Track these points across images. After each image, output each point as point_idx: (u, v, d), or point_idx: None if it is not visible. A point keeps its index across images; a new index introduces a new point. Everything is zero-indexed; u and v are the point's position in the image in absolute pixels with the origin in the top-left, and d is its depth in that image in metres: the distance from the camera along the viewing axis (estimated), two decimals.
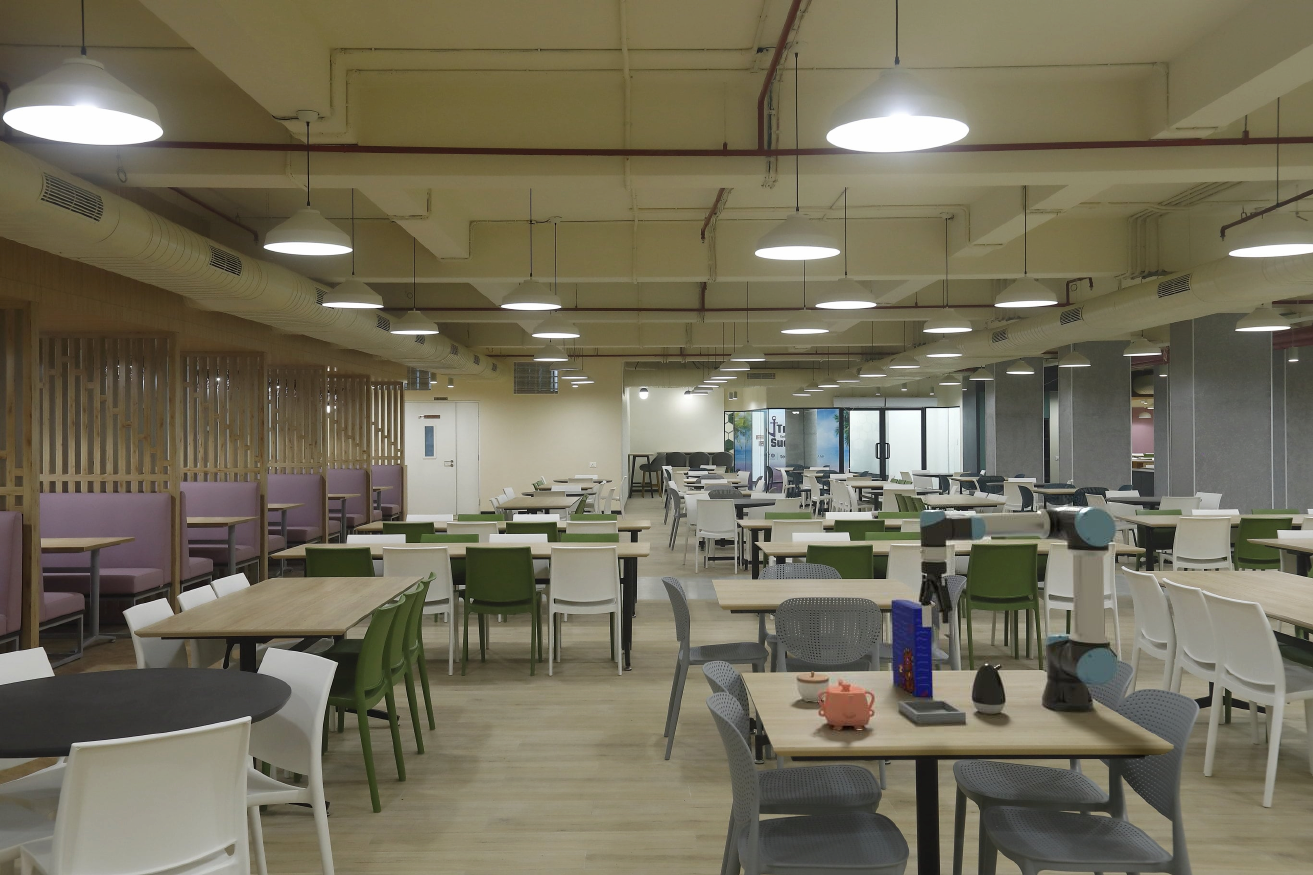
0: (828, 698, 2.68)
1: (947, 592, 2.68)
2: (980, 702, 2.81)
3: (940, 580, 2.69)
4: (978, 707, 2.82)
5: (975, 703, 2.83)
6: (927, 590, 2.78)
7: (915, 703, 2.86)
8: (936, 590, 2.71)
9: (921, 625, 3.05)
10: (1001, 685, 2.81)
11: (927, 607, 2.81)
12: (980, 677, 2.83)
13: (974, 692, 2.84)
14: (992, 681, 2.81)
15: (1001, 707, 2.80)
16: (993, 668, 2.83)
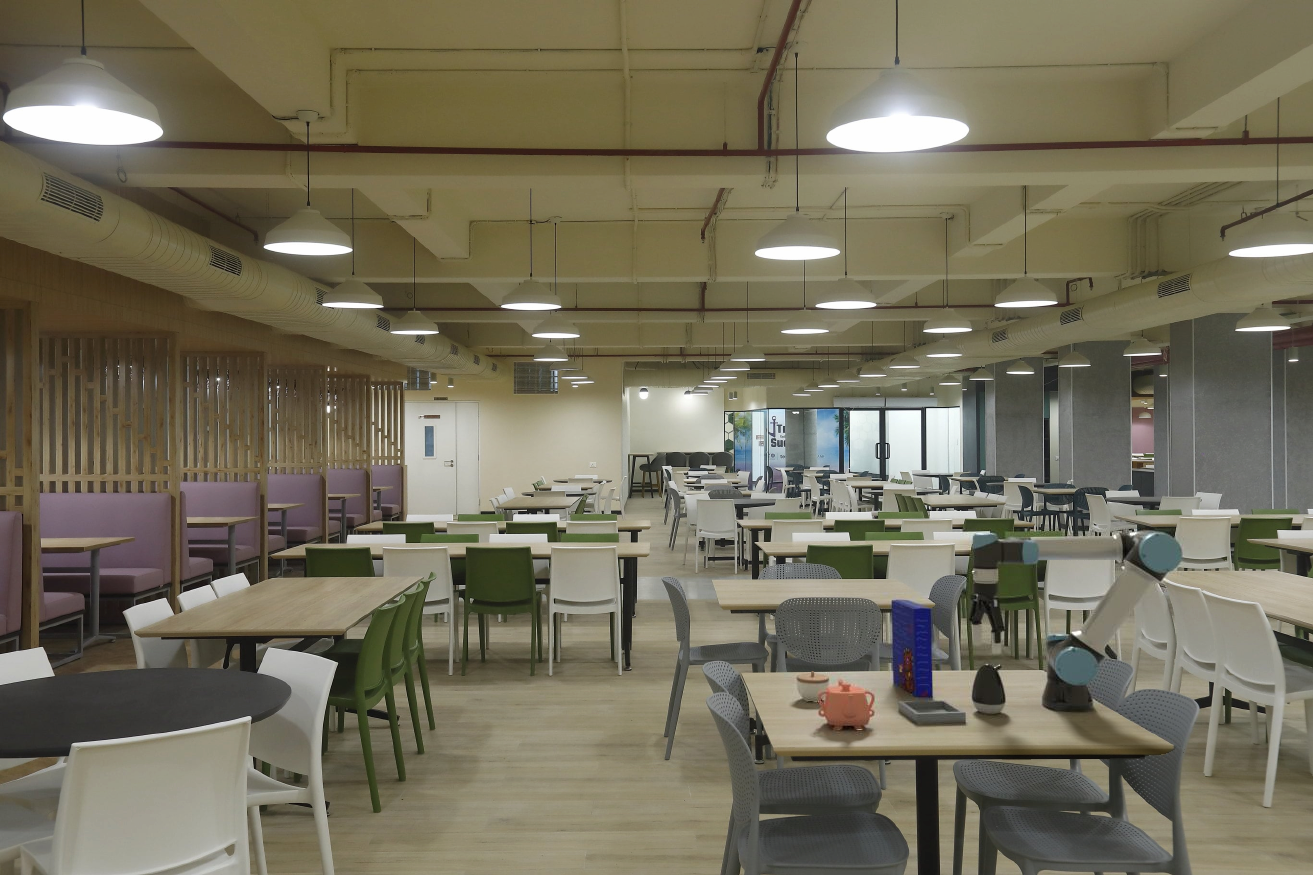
0: (828, 698, 2.68)
1: (999, 613, 2.78)
2: (980, 702, 2.81)
3: (993, 601, 2.79)
4: (978, 707, 2.82)
5: (975, 703, 2.83)
6: (978, 610, 2.89)
7: (915, 703, 2.86)
8: (988, 611, 2.82)
9: (921, 625, 3.05)
10: (1001, 685, 2.81)
11: (977, 626, 2.92)
12: (980, 677, 2.83)
13: (974, 692, 2.84)
14: (992, 681, 2.81)
15: (1001, 707, 2.80)
16: (993, 668, 2.83)
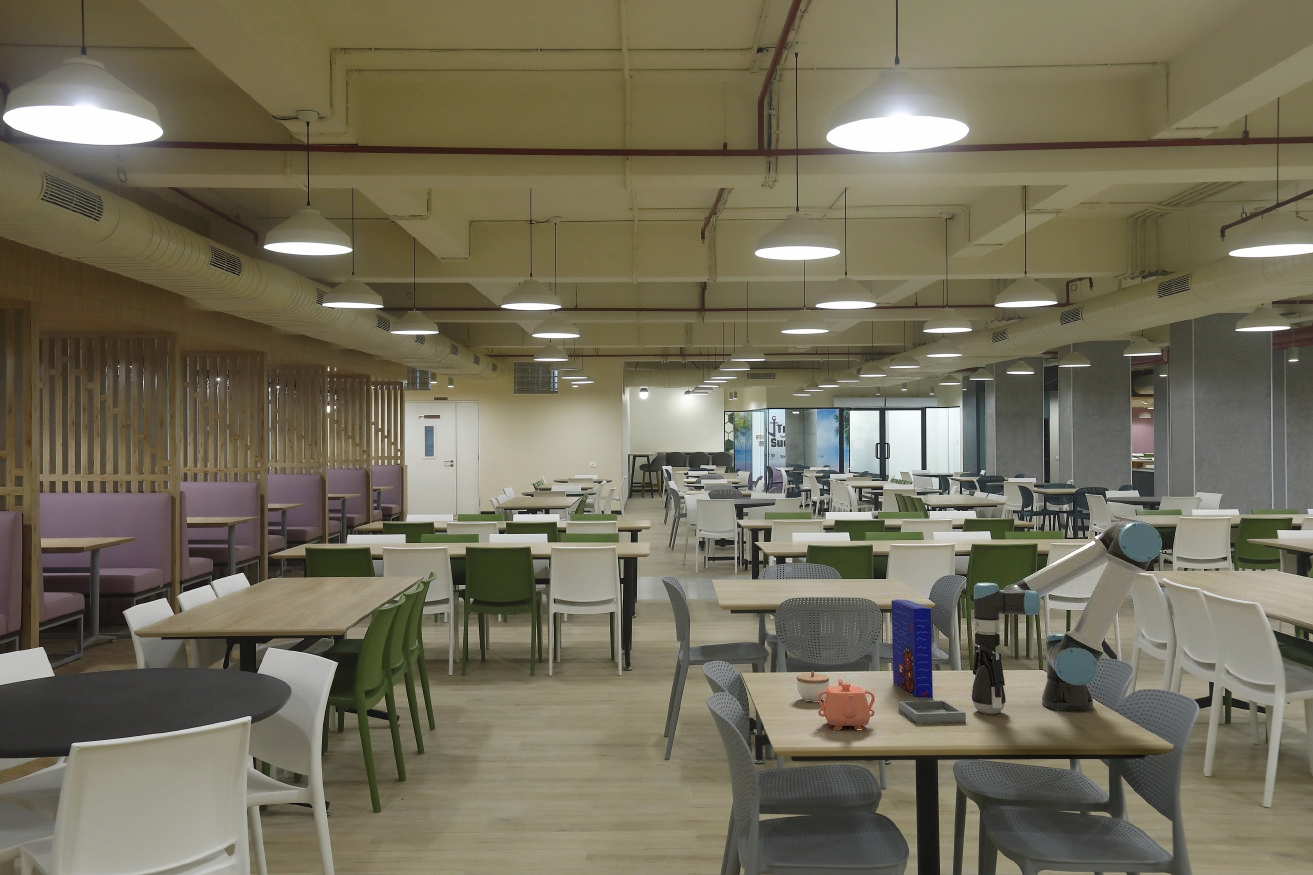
0: (828, 698, 2.68)
1: (1000, 667, 2.78)
2: (980, 702, 2.81)
3: (994, 655, 2.78)
4: (978, 707, 2.82)
5: (975, 703, 2.83)
6: (981, 661, 2.87)
7: (915, 703, 2.86)
8: (989, 663, 2.81)
9: (921, 625, 3.05)
10: None
11: None
12: (980, 677, 2.83)
13: (974, 692, 2.84)
14: None
15: None
16: None
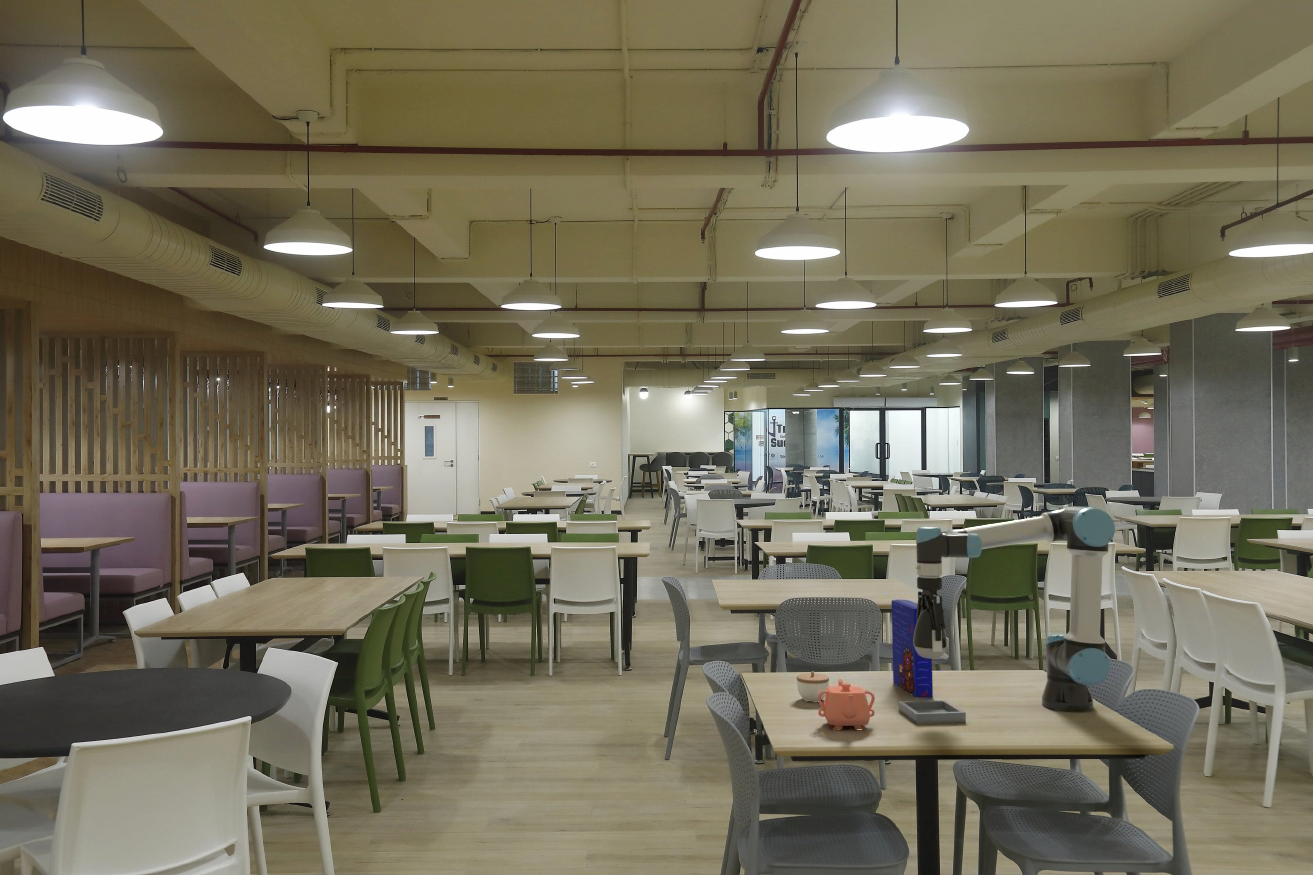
0: (828, 698, 2.68)
1: (941, 610, 2.74)
2: (921, 646, 2.77)
3: (935, 598, 2.75)
4: (919, 651, 2.79)
5: (916, 647, 2.80)
6: (923, 606, 2.84)
7: (915, 703, 2.86)
8: (931, 607, 2.78)
9: None
10: None
11: None
12: (922, 621, 2.79)
13: (915, 637, 2.80)
14: None
15: (942, 651, 2.77)
16: None
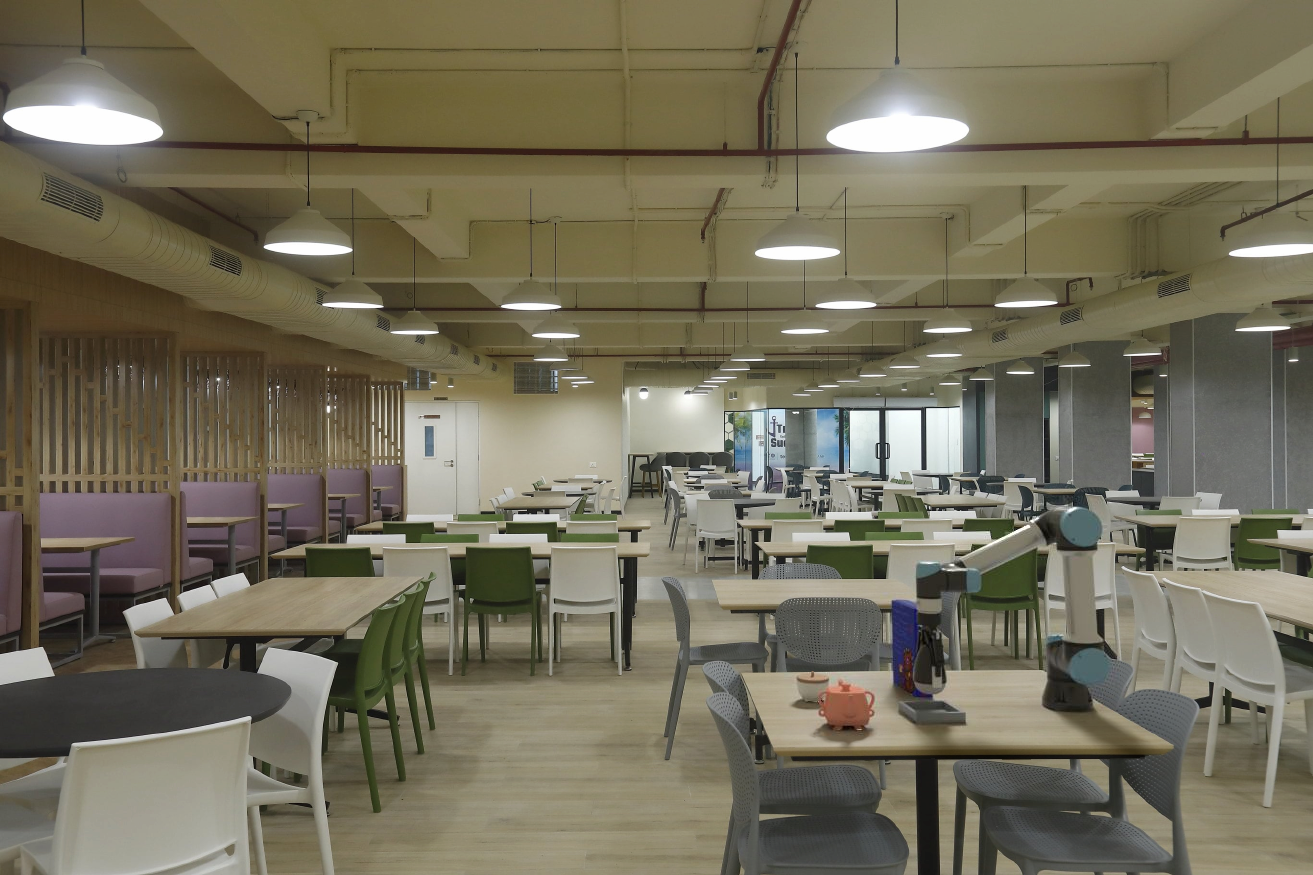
0: (828, 698, 2.68)
1: (941, 646, 2.73)
2: (920, 682, 2.77)
3: (935, 634, 2.74)
4: (919, 687, 2.78)
5: (916, 683, 2.79)
6: (923, 641, 2.83)
7: (915, 703, 2.86)
8: (930, 642, 2.77)
9: (921, 625, 3.05)
10: None
11: None
12: (921, 656, 2.78)
13: (914, 672, 2.79)
14: None
15: (942, 687, 2.76)
16: None
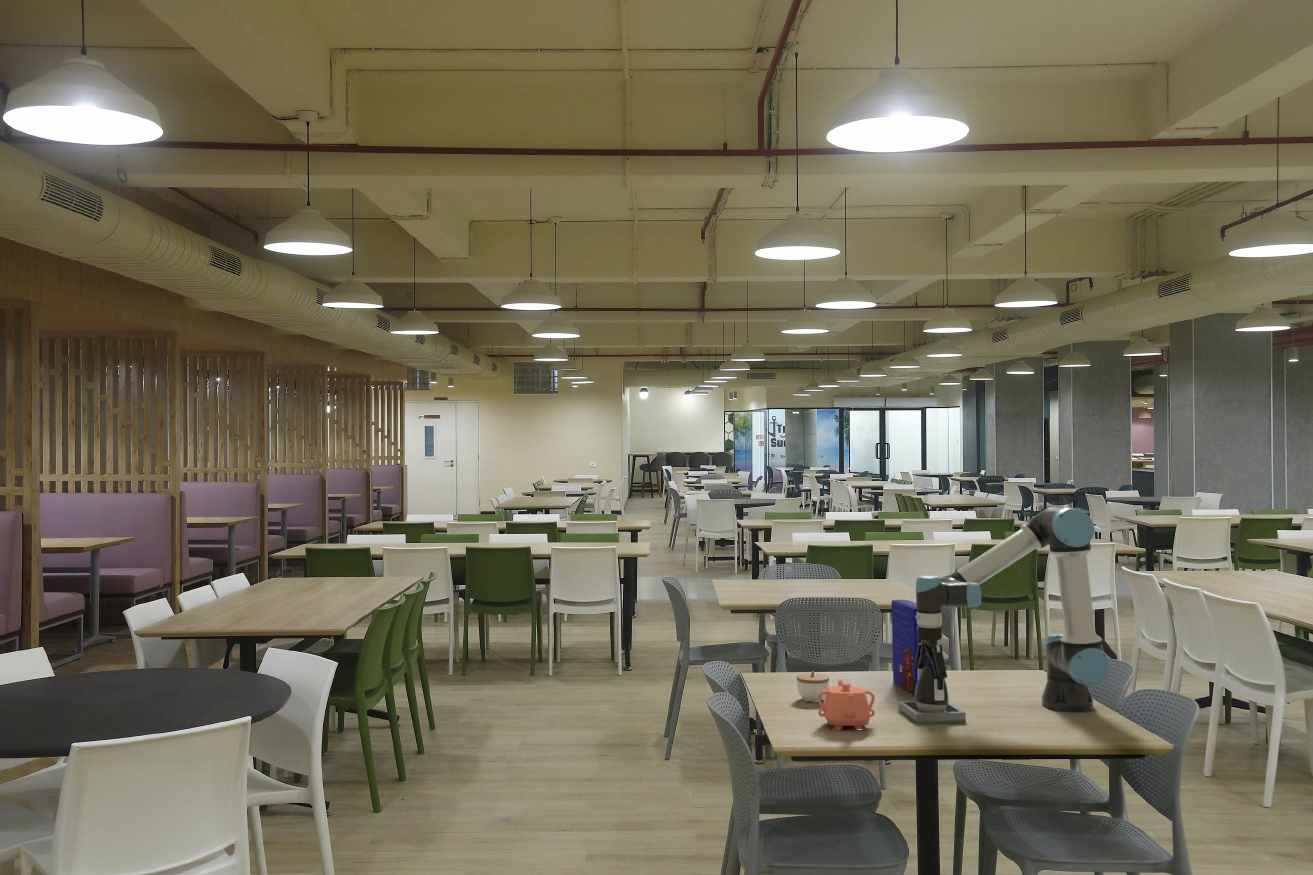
0: (828, 698, 2.68)
1: (942, 659, 2.73)
2: (922, 701, 2.77)
3: (935, 647, 2.74)
4: (920, 707, 2.78)
5: (917, 703, 2.79)
6: (923, 654, 2.83)
7: (915, 703, 2.86)
8: (931, 656, 2.76)
9: None
10: (944, 685, 2.77)
11: None
12: (924, 676, 2.79)
13: (916, 692, 2.79)
14: None
15: (943, 708, 2.76)
16: None
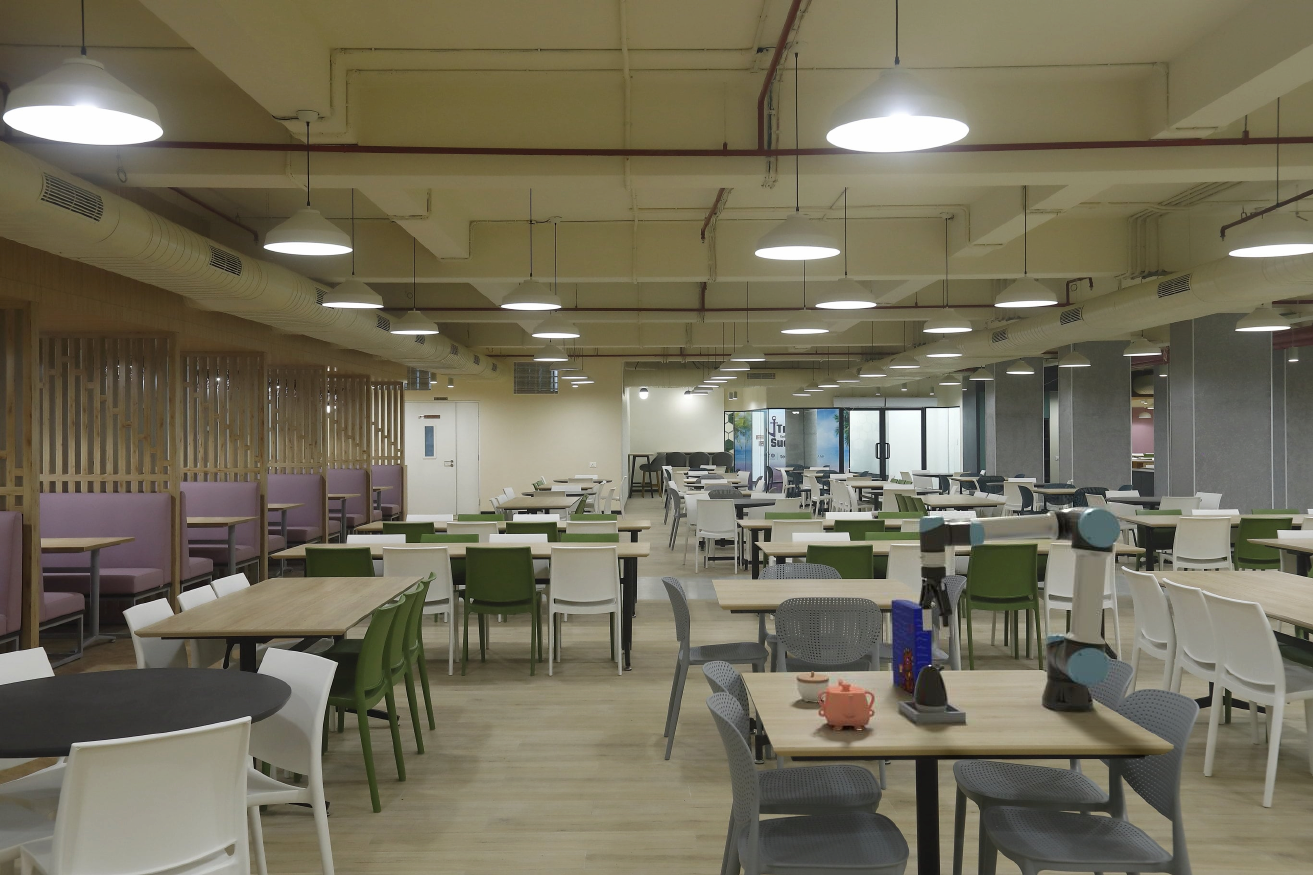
0: (828, 698, 2.68)
1: (947, 596, 2.74)
2: (921, 704, 2.76)
3: (940, 585, 2.75)
4: (920, 709, 2.78)
5: (917, 705, 2.79)
6: (927, 594, 2.85)
7: None
8: (936, 594, 2.78)
9: (921, 625, 3.05)
10: (943, 686, 2.77)
11: (927, 611, 2.88)
12: (922, 678, 2.78)
13: (915, 694, 2.79)
14: (934, 682, 2.76)
15: (943, 709, 2.76)
16: (935, 669, 2.78)
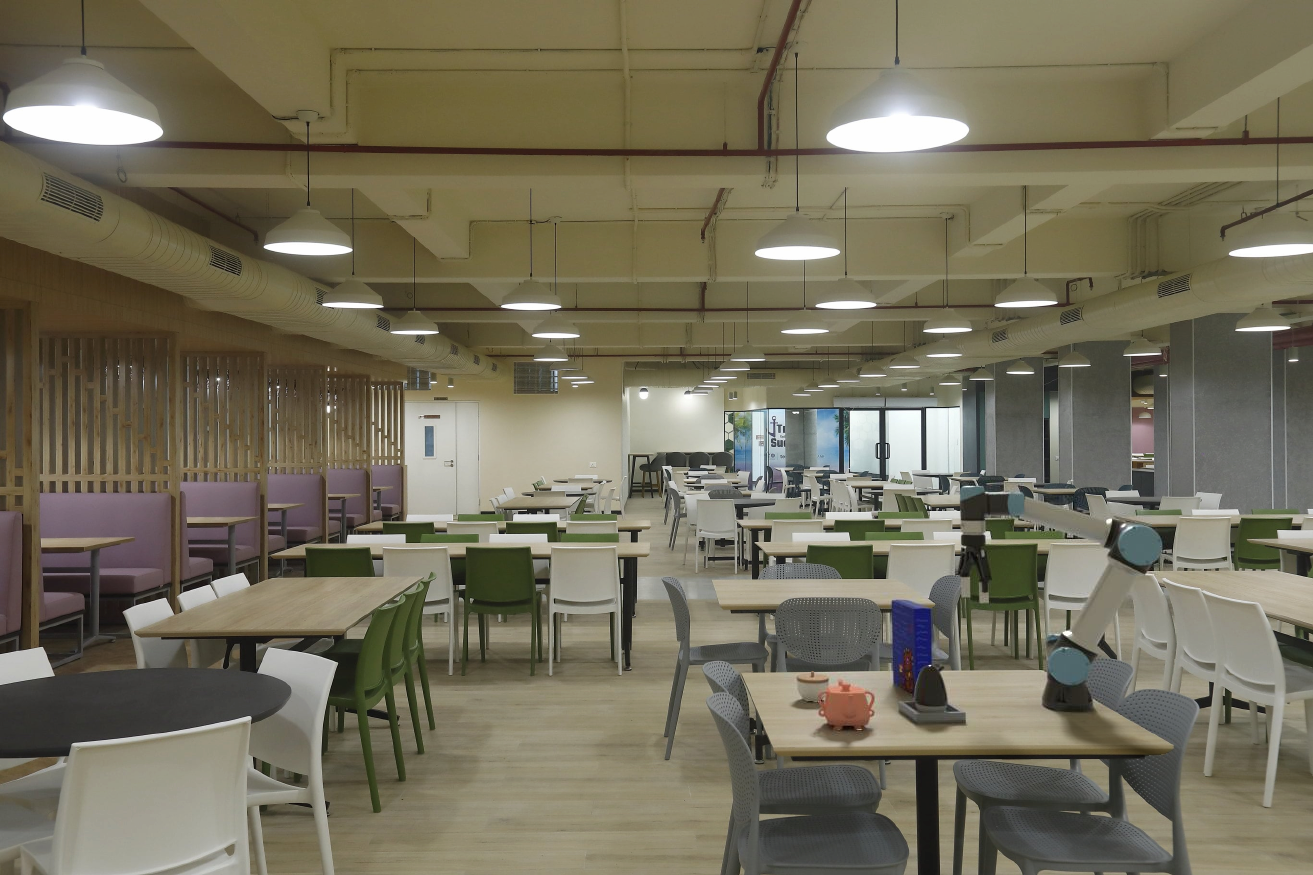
0: (828, 698, 2.68)
1: (987, 563, 2.82)
2: (921, 704, 2.76)
3: (980, 552, 2.83)
4: (920, 709, 2.78)
5: (917, 705, 2.79)
6: (966, 562, 2.93)
7: None
8: (976, 561, 2.86)
9: (921, 625, 3.05)
10: (943, 686, 2.77)
11: (966, 578, 2.96)
12: (922, 678, 2.78)
13: (915, 694, 2.79)
14: (934, 682, 2.76)
15: (943, 709, 2.76)
16: (935, 669, 2.78)
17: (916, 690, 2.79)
